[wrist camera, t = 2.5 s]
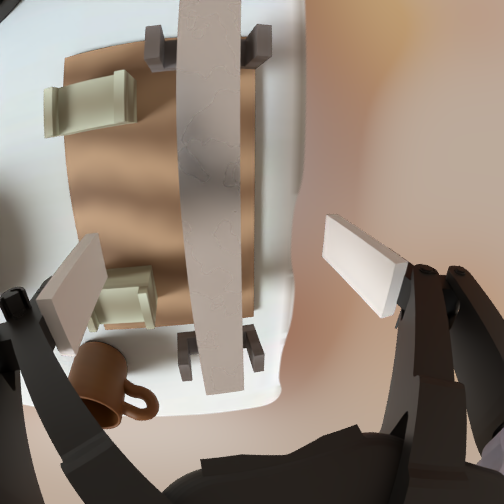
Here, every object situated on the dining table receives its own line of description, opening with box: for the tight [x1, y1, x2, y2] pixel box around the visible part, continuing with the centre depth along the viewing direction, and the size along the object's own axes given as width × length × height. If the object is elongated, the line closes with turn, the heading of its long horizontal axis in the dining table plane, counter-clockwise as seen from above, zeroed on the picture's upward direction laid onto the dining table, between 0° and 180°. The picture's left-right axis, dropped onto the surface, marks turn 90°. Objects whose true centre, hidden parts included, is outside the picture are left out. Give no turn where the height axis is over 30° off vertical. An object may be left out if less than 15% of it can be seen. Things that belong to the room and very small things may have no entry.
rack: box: [44, 24, 272, 381], centre depth 20 cm, size 30×18×12 cm, turn 0°
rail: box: [176, 0, 244, 395], centre depth 17 cm, size 28×3×3 cm, turn 0°
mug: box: [68, 341, 159, 429], centre depth 29 cm, size 12×8×9 cm, turn 77°
